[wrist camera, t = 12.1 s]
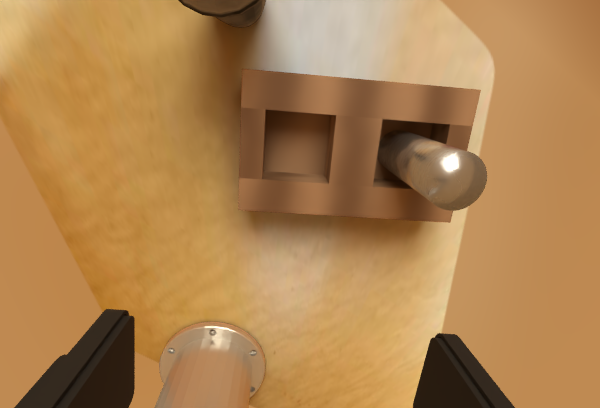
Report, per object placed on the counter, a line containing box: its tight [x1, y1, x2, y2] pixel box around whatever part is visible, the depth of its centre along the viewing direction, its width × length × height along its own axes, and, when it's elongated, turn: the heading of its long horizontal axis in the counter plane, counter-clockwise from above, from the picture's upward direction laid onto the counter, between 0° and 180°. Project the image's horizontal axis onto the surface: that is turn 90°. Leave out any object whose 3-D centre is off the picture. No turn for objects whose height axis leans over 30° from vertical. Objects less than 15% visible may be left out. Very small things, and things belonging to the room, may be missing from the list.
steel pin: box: [377, 130, 487, 211], centre depth 28 cm, size 4×4×12 cm
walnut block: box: [238, 69, 481, 222], centre depth 32 cm, size 20×12×5 cm, turn 85°
